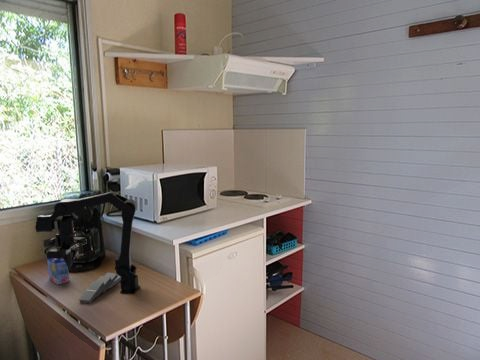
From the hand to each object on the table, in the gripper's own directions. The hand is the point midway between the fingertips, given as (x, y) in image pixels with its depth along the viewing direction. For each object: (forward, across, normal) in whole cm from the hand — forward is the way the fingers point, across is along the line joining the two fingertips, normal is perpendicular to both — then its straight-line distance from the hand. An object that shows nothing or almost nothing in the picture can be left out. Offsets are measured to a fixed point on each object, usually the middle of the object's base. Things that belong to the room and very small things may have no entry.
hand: (69, 267), depth 145 cm
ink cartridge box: (+13, -14, -16) cm, 25 cm away
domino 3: (+12, -4, +9) cm, 16 cm away
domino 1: (+12, +5, +8) cm, 16 cm away
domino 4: (+12, -8, +10) cm, 18 cm away
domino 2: (+12, 0, +9) cm, 15 cm away
